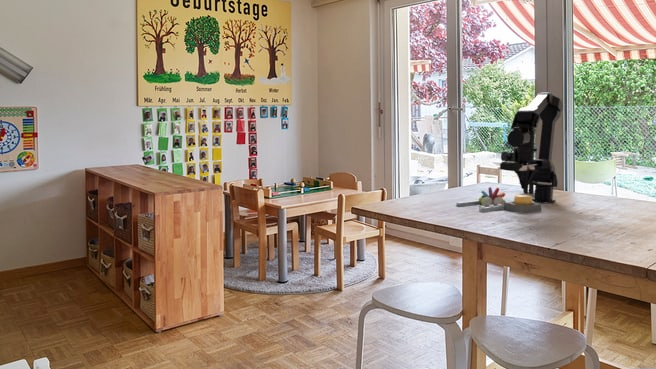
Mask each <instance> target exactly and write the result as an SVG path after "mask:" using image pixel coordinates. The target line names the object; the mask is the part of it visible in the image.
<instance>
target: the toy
mask: <svg viewBox="0 0 656 369" xmlns="http://www.w3.org/2000/svg"><path fill="white" fill-rule="evenodd" d="M519 185H521V184H520V181H519ZM534 186H535V185H532V184H531V180H530V182H529V184H528V186H527V187H526V189H522V190H523V193H524V194H527V193H529V194H533V193H535V188H534Z"/></svg>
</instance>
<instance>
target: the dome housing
mask: <svg viewBox="0 0 656 369" xmlns="http://www.w3.org/2000/svg"><path fill="white" fill-rule="evenodd" d="M542 204H543V203H540V202H535V201H532V205H524V206H523V205H518V204H514V200H512V201H506V202H504V209H503V210H506V211H510V212H515V213H520V214H528V213H536V212H537V213H538V212H542V210H543V209H542V208H543V205H542Z"/></svg>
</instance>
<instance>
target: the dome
mask: <svg viewBox="0 0 656 369" xmlns="http://www.w3.org/2000/svg"><path fill="white" fill-rule="evenodd" d="M532 199H533V196H531V195H526V194H515V195H514V196H513V201H514V204H518V205H523V206H524V205H532V202H533V201H532Z"/></svg>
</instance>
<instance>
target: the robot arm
mask: <svg viewBox="0 0 656 369" xmlns="http://www.w3.org/2000/svg"><path fill="white" fill-rule="evenodd" d="M563 110H564V104H563V102H562V100H561V98H560V97H557V96H555V95H553V93H551V92H538V93H536V95H535V98H533V100H532V101H531V102H530V103H529V104H528V105H527V106H525V107H521V108H519V109H518V110H517V111H516V112H515V114H514V118H513V120H512V123H511V127H510V129H512V131H510V132H509V133H508V135H507V137H506V139H507V143H508V145H509V146H511V147H513V152H509V151H502V152H501V154H500V160H501V162H500V164H499V170H501V171H509V172H514V173H515V174H516V175H517V178H518V180H519V182H520V184H519V185H520V188H521V189H522V190H523V189H526V187H527V186H528V187H529V185H528V184H529V182H530V180H531V184H532V185H534V186H535V188H534V198H532V202H537V203H542V204H544V203H553V202H554V203H555V202H556V199H553V196H554V195H553V194H554V188H557V187H558V185H559V183H558V182H559V180H558V175H557V173H556V167H555V165H554V163H553V161H552V157H553V156H552V155H553V148H554V146H553V145H554V138H555V136H554V135H555V129H556V128H555V127H556V122H557V121H558V120H559V119H560V117H561V114H562V112H563ZM540 120H541V122H542V123H541V129H540V130H541V131H540V140H539V150H538V149H537V148H536V147H535V140H536V139H535V138H536V137H535V136H536V131H537V129H536V128H537V127H538V126H539V123H540ZM537 151H538V158H535V152H537Z"/></svg>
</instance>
